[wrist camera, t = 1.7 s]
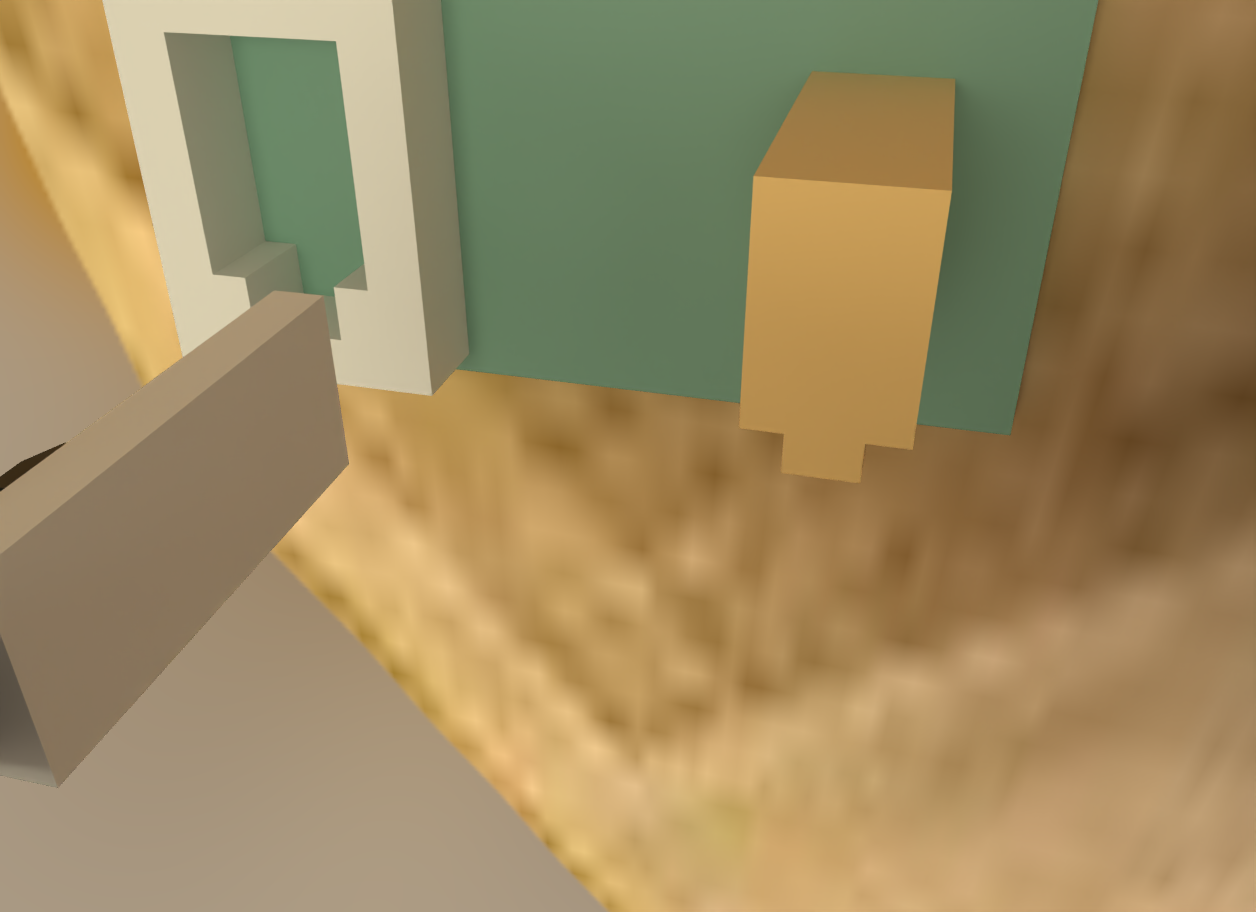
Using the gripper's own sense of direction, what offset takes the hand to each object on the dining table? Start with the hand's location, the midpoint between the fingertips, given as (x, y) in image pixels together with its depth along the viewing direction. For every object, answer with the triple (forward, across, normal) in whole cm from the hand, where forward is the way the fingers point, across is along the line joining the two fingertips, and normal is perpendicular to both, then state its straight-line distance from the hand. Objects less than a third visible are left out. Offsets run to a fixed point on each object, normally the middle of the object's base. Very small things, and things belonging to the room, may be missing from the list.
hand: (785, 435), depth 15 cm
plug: (+12, 0, 0) cm, 12 cm away
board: (+13, +6, 0) cm, 15 cm away
